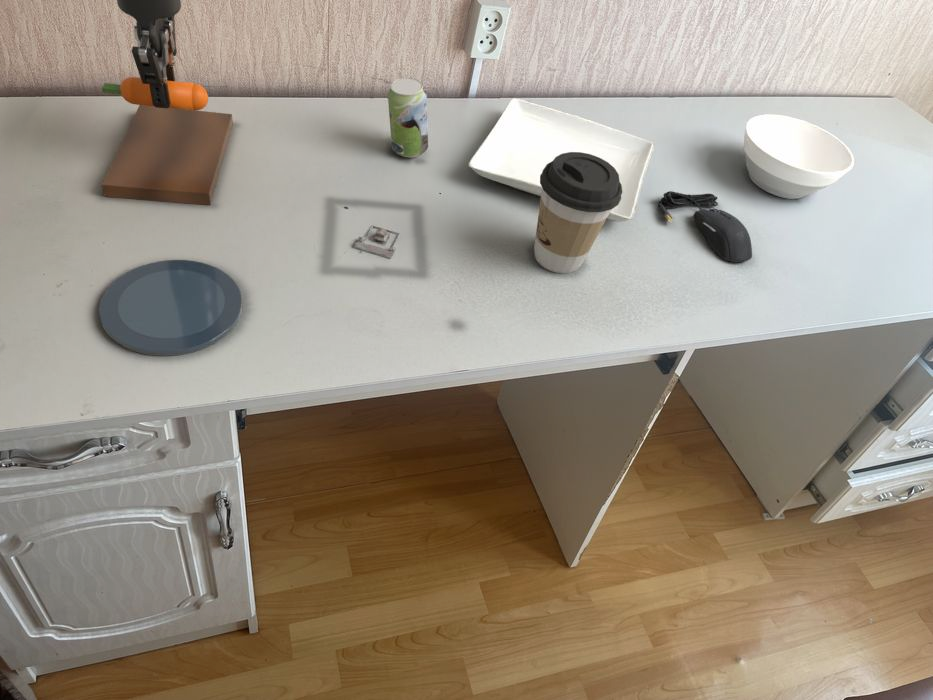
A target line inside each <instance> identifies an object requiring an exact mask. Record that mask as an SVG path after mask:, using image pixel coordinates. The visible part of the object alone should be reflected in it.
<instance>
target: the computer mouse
mask: <svg viewBox="0 0 933 700" xmlns="http://www.w3.org/2000/svg"><path fill="white" fill-rule="evenodd" d="M717 200H718V196H716V195H715V194H713V193H701V194H687V193H686V194H685V193H681V192H677V191H673V190H672V191H671V190H669V191H667V192H664V193H663V196H662V197H661V198H660V200H658V204H657V208H658V210H659V212H660V213H661V215H662V216H663V218H664V219H665V220H666V221H668V222H669V224H673V223H674V221H673V217H672V215H671V214H670V213H669V211H668V210H672V209H676V208H682V207H685V206H690V207H691V206H696V207H697V208H698V210H695V211H694V213H693V216H692V217H693V221H694V224H695V225H696V227H697V228H698V229H699V230H700V231H701V232H702V233H703V235H704V237H705V238H706V240H707V242H708V244H709V246H710V247H711V249H712V250H713V252H714V253H716V255H718V256H719V258H722V259H723V260H725V261H728V262H732V263H743V262H747V261H749V260H751V259H752V258H753V247H752V240H751V236H750V234H749V231H748V229H747V228H746V226H745V225H744V224H743V222H742V221H740V219H738V218H737V217H736V216H734V215H732V214H731V213H729V212H726V211H724V210H722V209H718V208H713V207H717V206H719V202H717ZM702 207H709V208H708V209H706V208H702ZM711 207H712V208H711ZM667 209H668V210H667Z"/></svg>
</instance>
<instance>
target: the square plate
mask: <svg viewBox="0 0 933 700" xmlns="http://www.w3.org/2000/svg"><path fill="white" fill-rule="evenodd" d="M654 149H655V143H654V142H652V141H650V140H648V139H645V138H642V137H639V136H636V135H633V134H630V133H627V132H624V131H622V130H619V129H616V128H613V127H610V126H607V125H604V124H601V123H599V122H596V121H592V120H590V119H586V118H583V117H580V116H578V115H575V114H571V113H567V112H564V111H561V110H557V109H555V108H551V107H547V106H544V105H540V104H537V103H533V102H529V101H526V100H523V99H521V98H520V99H519V98H512V99H511V100H510V101H509V102H508V103H507V105H506V107H505V108H504V110H503V112H502V114H501V116H500V117H499V118H498V119H497V121H496V122H495V124H494V126H493V128H492V129H491V130H490V131H489V134H488V135H486V138H485V139H484V140H483V142H482V143H481V144H480V146H479V147H478V149H477V150H476V152H475V153H474V155H473V156H472V157H471V159H470V161H469V162H468V168H470V169H472V171H474V172H475V173H476V174H478V175H479V176H481V177H483V178H484V179H485V178H486V179H488V180H491V181H493V182H496V183H500V184H503V185H506V186H508V187H510V188H513V189H516V190H518V191H523V192H525V193H529V194H532V195H534V196H538V197H540V198H541V193H542V186H541V184H540V175H541V174H542V171H543V169H544V168H545V166H546V165H547V164H548V163H550V162H552V161H553V160H554V159H555V157H557V156H558V155H560V154H563V153H568V152H582V153H587V154H591V155H594V156H597V157H599V158H601V159H603V160H605V161H606V162H608V163H609V164H610V165H612V166H613V167H614V168H615V169H616V171H617V173H618V174H619V180H620V183H621V185H622V195H621V200H620V202H619V204H618V205H617V206H616V207H614V208H613V209H612V210H611V211H610V213H609V215H608V217H607V219H608V220H611V221H614V222H615V221H616V222H626V221H629V220H630V221H631V220H632V219H633V218H634V217H635V214H636V210H637V206H638V201H639V198H640V194H641V191H642V186H643V183H644V179H645V175H646V173H647V169H648V167H649V164H650V162H651V158H652V156H653V153H654Z"/></svg>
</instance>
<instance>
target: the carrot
mask: <svg viewBox="0 0 933 700" xmlns="http://www.w3.org/2000/svg"><path fill="white" fill-rule="evenodd" d="M167 84H168V90H169V97H170V103H171V104H170V107H169V108H176V109H186V110H196V111H202V110H203V109H205V108H206V107H207V105H208V102H209V94H208V92H207V89H205V87H203V86H202V85H200V84H199V83H194V82H186V81H178V80H177V81H176V80H175V81H167ZM101 87H102V88H101V92H102V93H104V94H105V93H106V94H107V93H108V94H115V95H121V97H122V98H123V99H124V101H126V102H127V103H129V104H131V105H136V106H139V105H146V106H153V103H152V97H151V92H150V86H149V84H143V83H142V81H141V78H140V77H138V76H129V77H126V78H125V79H123V80H122V81H121V82H120V84H117V83H108V82H105V83H104V84H103V86H101Z"/></svg>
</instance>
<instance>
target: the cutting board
mask: <svg viewBox="0 0 933 700" xmlns="http://www.w3.org/2000/svg"><path fill="white" fill-rule="evenodd" d="M233 126H234V122H233V114H232V113H225V112H216V111H215V112H214V111H205V110H187V109H176V108H157V107H154V106H146V105H138V107H137V109H136V111H135V113H134V115H133V117H132V120H131V121H130V124H129V126H128V129H127V130H126V133H125V135H124V137H123V139H122V141H121V143H120V146H119V147H118V150H117V152H116V153H115V156H114V158H113V160H112V162H111V165H110V167H109V169H108V170H107V173H106V175H105V177H104V179H103V181H102V184H101V186H102V190H103V195H104V198H115V199H116V198H118V199H131V200H141V201H143V200H144V201H155V202H167V203H178V204H179V203H181V204H189V205H191V204H192V205H203V206H211V204H212V201H213V199H214V195H215V190H216V186H217V183H218V181H219V176H220V173H221V168H222V165H223V162H224V158H225V155H226V152H227V147H228V144H229V140H230V137H231V133H232V130H233Z"/></svg>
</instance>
